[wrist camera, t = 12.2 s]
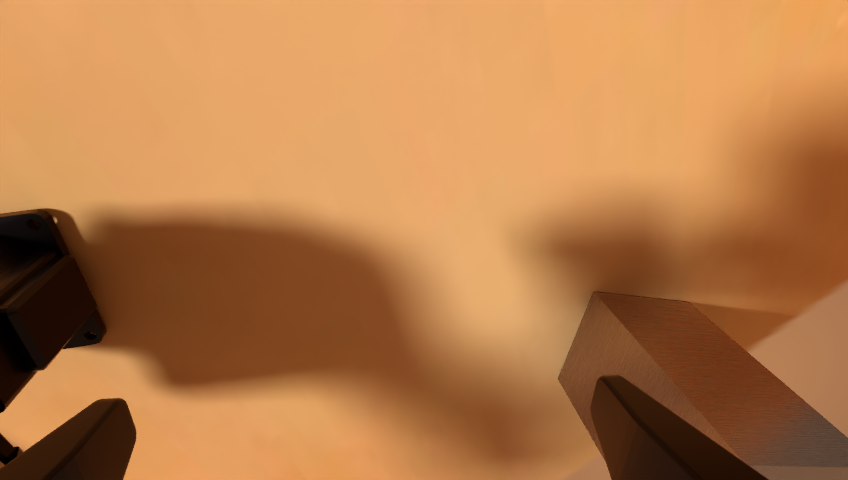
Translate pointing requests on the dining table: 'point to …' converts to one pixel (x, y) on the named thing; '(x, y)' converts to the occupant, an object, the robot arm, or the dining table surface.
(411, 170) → the dining table surface
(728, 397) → the grey rectangular block
